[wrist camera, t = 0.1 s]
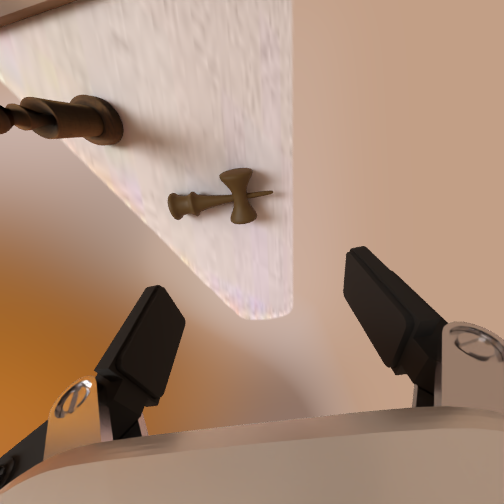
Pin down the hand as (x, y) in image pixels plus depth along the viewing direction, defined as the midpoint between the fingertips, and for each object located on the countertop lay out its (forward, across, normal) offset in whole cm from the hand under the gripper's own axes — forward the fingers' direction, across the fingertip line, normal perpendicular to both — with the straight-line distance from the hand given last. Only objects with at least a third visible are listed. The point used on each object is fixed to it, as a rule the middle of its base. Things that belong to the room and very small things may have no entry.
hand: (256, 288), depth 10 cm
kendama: (+32, +6, +3) cm, 32 cm away
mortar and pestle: (+31, +22, -13) cm, 40 cm away
